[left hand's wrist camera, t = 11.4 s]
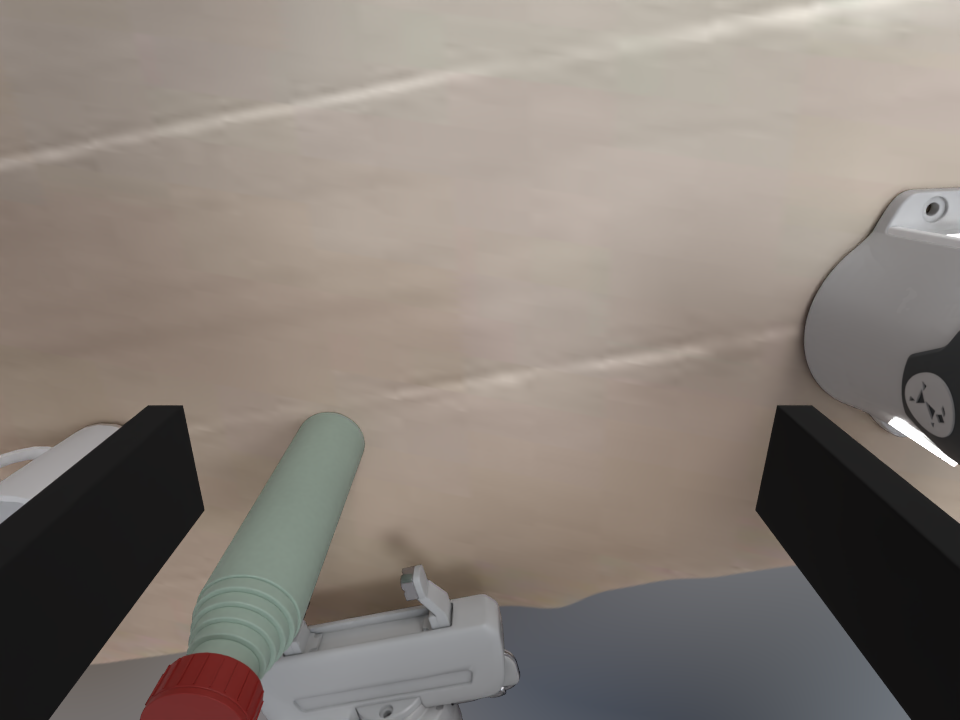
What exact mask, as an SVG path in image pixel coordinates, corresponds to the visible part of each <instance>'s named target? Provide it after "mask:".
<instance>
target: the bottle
mask: <svg viewBox="0 0 960 720" xmlns="http://www.w3.org/2000/svg"><path fill="white" fill-rule="evenodd" d="M364 444H365V443H364V437H363V434H362V432H361V430H360V428H359V427H358V426H357V425H356V424H355V423H354V422H353V421H352V420H351V419H349V418H347V417H346V416H343V415H341V414H338V413H332V412H324V413H319V414H316V415H313V416H311V417H309V418H308V419H307V420H306V421H305V422H304V423H303V424H302V425H301V427H300V429H299V430H298V432H297V434H296V435H295V437H294V439H293V440H292V442H291V444H290V445H289V447H288V448H287V450H286V452H285V453H284V455H283V457H282V458H281V460H280V462H279V463H278V465H277V467H276V468H275V470H274V472H273V473H272V475H271V477H270V478H269V480H268V482H267V483H266V485H265V487H264V488H263V490H262V492H261V493H260V495H259V497H258V498H257V500H256V502H255V503H254V505H253V507H252V508H251V510H250V511H249V513H248V515H247V516H246V518H245V520H244V521H243V523H242V525H241V526H240V528H239V530H238V531H237V533H236V535H235V536H234V538H233V540H232V541H231V543H230V545H229V546H228V548H227V550H226V551H225V553H224V555H223V556H222V558H221V560H220V561H219V563H218V565H217V566H216V568H215V570H214V571H213V573H212V575H211V576H210V578H209V579H208V581H207V583H206V584H205V586H204V588H203V589H202V591H201V593H200V595H199V597H198V600H197V604H196V606H195V608H194V611H193V617H192V624H191V631H190V633H191V634H190V637H189V644H188V645H189V648H188V650H187V655H190V654H194V653H204V652H208V653H217V654H222V655H226V656H230V657H232V658H234V659H237V660H239V661H241V662H242V663H244V664H245V665H247V666H248V667H249V668H251V669H252V670H253V671H254V672H255V674H256V675H257V676H258V678H259V679H260V680H261V679H262V678H263V676H264V675H265V673H267V672H268V671H269V670H270V669H271V667H272V666H273V665H274V663H275V662H276V661H277V660H278V659H279V658H280V657H281V656H282V654H283V653H284V652H285V651H286V650H287V649H288V648H289V647H290V645H291V643H292V642H293V639H294V638H295V637H296V635H297V633H298V632H299V629H300V626H301V624H302V621H303V618H304V615H305V613H306V610H307V607H308V604H309V601H310V599H311V596H312V593H313V590H314V588H315V585H316V582H317V579H318V576H319V574H320V571H321V568H322V565H323V563H324V560H325V557H326V554H327V551H328V549H329V546H330V543H331V540H332V538H333V535H334V532H335V529H336V526H337V524H338V521H339V518H340V515H341V512H342V510H343V507H344V504H345V501H346V499H347V496H348V493H349V490H350V487H351V485H352V482H353V479H354V476H355V474H356V471H357V468H358V465H359V462H360V460H361V457H362V454H363V451H364Z"/></svg>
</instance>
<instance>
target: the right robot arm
mask: <svg viewBox="0 0 960 720" xmlns="http://www.w3.org/2000/svg"><path fill="white" fill-rule="evenodd" d="M929 204H931V209H930V211H929V212H928V213H926V208H927V206H928V205H929ZM804 350H805V357H806V361H807V364H808V367H809V369H810V371H811V374H812V375H813V377H814V379H815V380H816V382H817V383H818V384H819V385H820V387H821V388H822V389H823V390H824V391H825V392H827V393H828V394H829V395H830V396H832V397H833V398H835V399H836V400H838V401H840V402H842V403H845V404H847V405H850V406H853V407H855V408H857V409H860V410H862V411H864V412H866V413H869V414H870V415H871V416H872V418H873V419H874V420H875V421H876V422H877V423H878V424H879V425H880V426H881V427H882V428H883V429H885V430H886V431H888V432H890V433H892V434H893V435H895V436H898V437H910V438H911V439H913V440H914V441H916V442H917V443H919V444H920V445H922V446H923V447H925V448H926V449H928V450H929V451H931V452H932V453H934V454H935V455H937V456H938V457H940V458H941V459H943V460H945V461H946V462H948V463H949V464H951V465H952V466H955V465H957V463H958V464H959V465H960V187H955V188H931V189H911V190H907V191H904V192H902V193H900V194H899V195H898V196H896V197H895V198H894V200H893V201H892V202H891V203H890V204H889V206H888V207H887V209H886V210H885V212H884V213H883V215H882V216H881V218H880V220H879V221H878V223H877V225H876V226H875V228H874V230H873V232H872V233H871V234H870V235H869V236H868V237H867V238H866V239H865V240H864V241H863V242H862V243H861V244H859V245H858V246H857V247H856V248H855V249H854V250H852V251H851V252H850V253H849V254H848V255H847V256H846V257H844V258H843V259H842V260H841V261H840V262H839V263H838V264H837V266H836V267H835V268H834V269H833V270H832V271H831V273H830V274H829V275H828V276H827V278H826V279H825V281H824V282H823V284H822V285H821V287H820V288H819V290H818V292H817V294H816V296H815V298H814V300H813V302H812V304H811V307H810V310H809V313H808V316H807V320H806V324H805V331H804ZM402 574H403V575H402V576H401V587H402V590H404V591H405V592H404V595H405V598H406V600H407V601H409V600H416V599H417V600H418V601H419V602H420V603H422V604H423V605H419V606H413V607H408V608H403V609H397V610H392V611H386V612H381V613H376V614H370V615H365V616H359V617H354V618H349V619H343V620H338V621H332V622H327V623H322V624H316V625H311V626H307V624H306V622H305V620H304V618H305V615H306V613H305V615H304V618H303V621H302V624H301V626H300V629H299V632H298V633H297V635H296V637H295V638H294V639H293V642H292V643H291V645H290V647H289V648H288V649H287V650H286V651H285V652H284V653H283V654H282V656H281V657H280V658H279V659H278V660H277V661H276V662H275V663H274V665H273V666H272V667H271V669H270V670H269V671H268V672H267V673H265V675H264V676H263V678H262V679H261V680H260V681H261V684H262V687H263V690H264V693H263V701H264V702H263V705H262V708H261V711H262V712H263V714H264V715H265V717H266V718H267V720H463V719H462V714H461V711H460V708H459V706H458V704H459V703H465V702H471V701H475V700H478V699H481V698H486V697H490V698H495V697H500V696H502V695H505V694H506V690H508V689H510V688H512V687H514V686H515V685H516V684H517V683H518V682H519V678H520V671H519V668H518V665H517V661H516V659H515V657H514V656H513V654H512V653H510V652H509V651H507V650H505V649H504V635H503V626H502V619H501V614H500V609H499V605H498V602H497V601H496V600H494V599H493V598H491V597H490V596H488V595H486V594H478V595H473V596H467V597H462V598H457V599H451V600H450V599H449V596H448V593H447V592H446V591H444V590H443V589H441V588H440V587H439V586H437V585H436V584H434V583H433V582H432V581H430V580H428V579H427V577H426V574H425V571H424V568H423V566H422V565H417V566H412V567H408V568H403V569H402ZM309 604H310V601H309ZM309 604H308V607H309ZM308 607H307V609H308Z"/></svg>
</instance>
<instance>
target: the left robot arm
mask: <svg viewBox="0 0 960 720" xmlns="http://www.w3.org/2000/svg"><path fill="white" fill-rule="evenodd" d="M203 512H204V505H203V500H202V495H201V491H200V486H199V481H198V476H197V471H196V467H195V462H194V457H193V452H192V447H191V442H190V438H189V433H188V428H187V423H186V418H185V414H184V409H183V405H148V406H147V407H146V408H144V409H143V410H142V411H141V412H139V413H138V414H137V415H136V416H134V417H133V418H132V419H131V420H129V421H128V422H127V423H126V424H124V425H123V426H122V427H121V428H119V429H118V430H117V431H116V432H114V433H113V434H112V435H111V436H109V437H108V438H107V439H106V440H104V441H103V442H102V443H101V444H99V445H98V446H97V447H96V448H94V449H93V450H92V451H91V452H89V453H88V454H87V455H86V456H84V457H83V458H82V459H81V460H79V461H78V462H77V463H76V464H74V465H73V466H72V467H71V468H69V469H68V470H67V471H66V472H64V473H63V474H62V475H61V476H59V477H58V478H57V479H56V480H54V481H53V482H52V483H51V484H49V485H48V486H47V487H46V488H44V489H43V490H42V491H41V492H39V493H38V494H37V495H36V496H34V497H33V498H32V499H31V500H29V501H28V502H27V503H26V504H24V505H23V506H22V507H21V508H19V509H18V510H17V511H16V512H14V513H13V514H12V515H11V516H9V517H8V518H7V519H6V520H4V521H3V522H2V523H1V524H0V720H49V719H50V717H51V716H52V715H53V713H54V712H55V710H56V709H57V708H58V706H59V705H60V704H61V702H62V701H63V700H64V698H65V697H66V696H67V694H68V693H69V692H70V690H71V689H72V688H73V686H74V685H75V684H76V682H77V681H78V679H79V678H80V677H81V676H82V674H83V673H84V671H85V670H86V669H87V667H88V666H89V665H90V663H91V662H92V661H93V659H94V658H95V657H96V655H97V654H98V653H99V651H100V650H101V649H102V647H103V646H104V645H105V643H106V642H107V641H108V639H109V638H110V637H111V635H112V634H113V633H114V631H115V630H116V628H117V627H118V626H119V624H120V623H121V622H122V620H123V619H124V618H125V616H126V615H127V614H128V612H129V611H130V610H131V608H132V607H133V606H134V604H135V603H136V602H137V600H138V599H139V598H140V596H141V595H142V594H143V592H144V591H145V589H146V588H147V587H148V585H149V584H150V583H151V581H152V580H153V579H154V577H155V576H156V575H157V573H158V572H159V571H160V569H161V568H162V567H163V565H164V564H165V563H166V561H167V560H168V559H169V557H170V556H171V555H172V553H173V552H174V550H175V549H176V548H177V546H178V545H179V544H180V542H181V541H182V540H183V538H184V537H185V536H186V534H187V533H188V532H189V530H190V529H191V528H192V526H193V525H194V524H195V522H196V521H197V520H198V518H199V517H200V516H201V514H202V513H203ZM756 512H757V513H758V514H759V516H760V517H761V518H762V520H763V521H764V522H765V524H766V525H767V526H768V528H769V529H770V530H771V532H772V533H773V534H774V536H775V537H776V538H777V540H778V541H779V542H780V544H781V545H782V546H783V548H784V549H785V550H786V552H787V553H788V555H789V556H790V557H791V559H792V560H793V561H794V563H795V564H796V565H797V567H798V568H799V569H800V571H801V572H802V573H803V575H804V576H805V577H806V579H807V580H808V581H809V583H810V584H811V585H812V587H813V588H814V589H815V591H816V592H817V594H818V595H819V596H820V597H821V599H822V600H823V602H824V603H825V604H826V605H827V607H828V608H829V610H830V611H831V612H832V614H833V615H834V616H835V618H836V619H837V620H838V622H839V623H840V624H841V626H842V627H843V628H844V630H845V631H846V632H847V634H848V635H849V636H850V638H851V639H852V641H853V642H854V643H855V645H856V646H857V647H858V649H859V650H860V651H861V653H862V654H863V655H864V657H865V658H866V659H867V661H868V662H869V663H870V665H871V666H872V667H873V669H874V670H875V671H876V673H877V674H878V676H879V677H880V678H881V679H882V681H883V682H884V684H885V685H886V686H887V688H888V689H889V690H890V692H891V693H892V694H893V696H894V697H895V698H896V700H897V701H898V702H899V704H900V705H901V706H902V708H903V709H904V710H905V712H906V713H907V715H908V716H909V717H910V719H911V720H960V524H959V523H958V522H957V521H956V520H954V519H953V518H952V517H951V516H949V515H948V514H947V513H946V512H944V511H943V510H942V509H941V508H939V507H938V506H937V505H936V504H934V503H933V502H932V501H931V500H929V499H928V498H927V497H926V496H924V495H923V494H922V493H921V492H919V491H918V490H917V489H916V488H914V487H913V486H912V485H911V484H909V483H908V482H907V481H906V480H904V479H903V478H902V477H901V476H899V475H898V474H897V473H896V472H894V471H893V470H892V469H891V468H889V467H888V466H887V465H886V464H884V463H883V462H882V461H881V460H879V459H878V458H877V457H876V456H874V455H873V454H872V453H871V452H869V451H868V450H867V449H866V448H864V447H863V446H862V445H861V444H859V443H858V442H857V441H856V440H854V439H853V438H852V437H851V436H849V435H848V434H847V433H846V432H844V431H843V430H842V429H841V428H839V427H838V426H837V425H836V424H834V423H833V422H832V421H831V420H829V419H828V418H827V417H826V416H824V415H823V414H822V413H821V412H819V411H818V410H817V409H816V408H814V407H813V406H812V405H777V409H776V414H775V418H774V423H773V428H772V433H771V438H770V442H769V447H768V452H767V457H766V462H765V467H764V471H763V476H762V481H761V486H760V491H759V495H758V500H757V505H756Z"/></svg>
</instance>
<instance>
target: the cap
mask: <svg viewBox="0 0 960 720" xmlns="http://www.w3.org/2000/svg"><path fill="white" fill-rule="evenodd" d="M263 693H264V690H263V687H262V684H261V681H260V679H259V678H258V676H257V675H256V674H255V672H254V671H253V670H252V669H251V668H249V667H248V666H247V665H245V664H244V663H242V662H241V661H239V660H237V659H234V658H232V657H230V656H226V655H222V654H217V653H208V652H204V653H194V654H190V655H186V656H184V657H182V658H179V659H178V660H177V661H175V662H174V663H172V664H171V665H169V666H168V668H167V669H166V671H165V673H164V674H163V675H162V676H161V678H160V680H159V682H158V684H157V685H156V687H155V688H154V690H153V692H152V694H151V696H150V697H149V699H148V701H147V702H146V704H145V705H146V707H145V708H144V710H143V712H142V714H141V717H140V720H257V718H258V716H259V713H260V710H261V708H262V705H263V702H264V701H263Z"/></svg>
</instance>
